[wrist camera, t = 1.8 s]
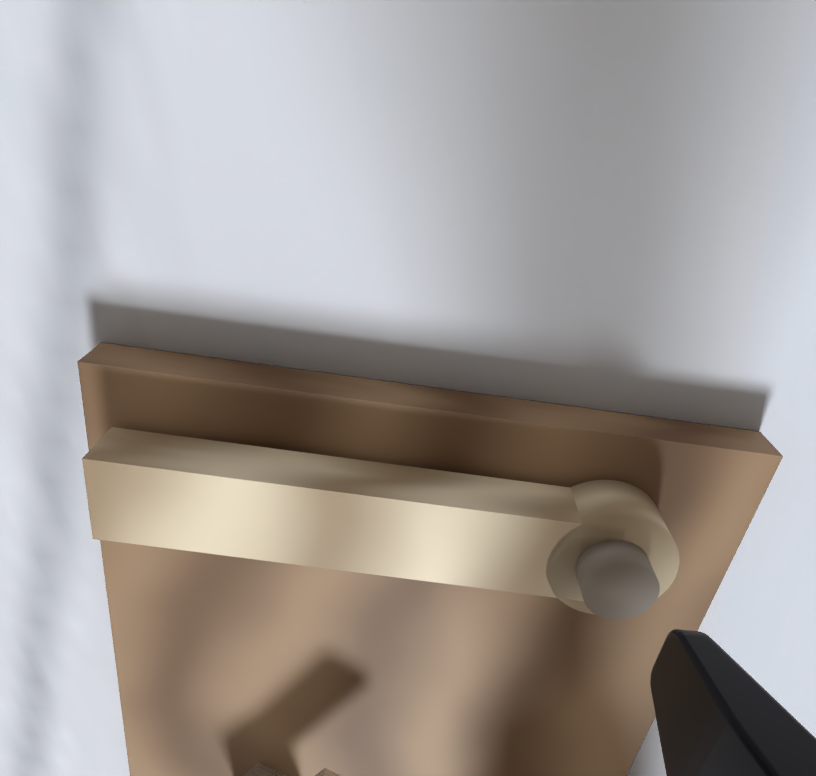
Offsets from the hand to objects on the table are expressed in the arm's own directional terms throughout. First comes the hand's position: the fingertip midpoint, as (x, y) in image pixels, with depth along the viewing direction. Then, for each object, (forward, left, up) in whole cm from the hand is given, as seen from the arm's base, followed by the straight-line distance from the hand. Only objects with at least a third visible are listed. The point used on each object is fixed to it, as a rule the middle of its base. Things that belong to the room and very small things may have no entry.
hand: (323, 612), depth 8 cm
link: (-1, +6, -10) cm, 12 cm away
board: (-2, +14, -12) cm, 19 cm away
